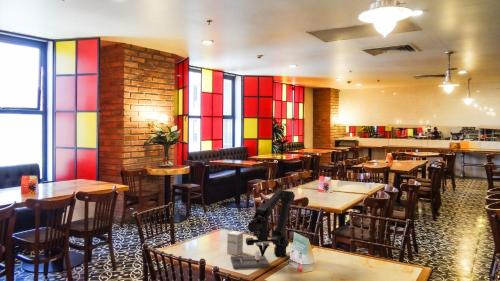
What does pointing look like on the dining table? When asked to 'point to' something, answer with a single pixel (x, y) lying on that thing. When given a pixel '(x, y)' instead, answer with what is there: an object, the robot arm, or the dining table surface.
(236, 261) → the console
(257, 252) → the fader tab
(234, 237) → the supplement box
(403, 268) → the dining table surface
